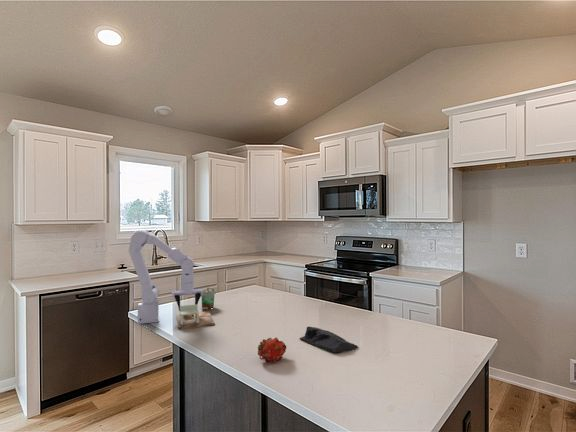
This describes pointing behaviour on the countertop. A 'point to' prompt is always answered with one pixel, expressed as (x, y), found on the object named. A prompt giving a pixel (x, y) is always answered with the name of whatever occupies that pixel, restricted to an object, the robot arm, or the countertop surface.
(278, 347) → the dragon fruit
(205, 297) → the food container
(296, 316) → the countertop surface
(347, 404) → the countertop surface
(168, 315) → the countertop surface
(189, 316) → the maple block
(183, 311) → the sliding cover
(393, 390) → the countertop surface
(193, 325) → the puzzle board
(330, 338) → the charcoal beanbag
